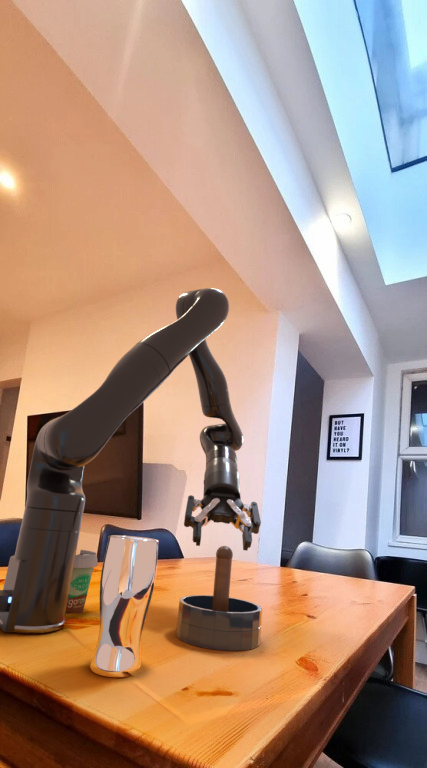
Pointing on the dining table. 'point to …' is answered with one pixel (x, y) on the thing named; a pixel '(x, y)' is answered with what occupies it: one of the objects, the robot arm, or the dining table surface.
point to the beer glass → (124, 603)
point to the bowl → (219, 624)
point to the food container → (80, 581)
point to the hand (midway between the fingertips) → (222, 545)
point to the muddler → (222, 579)
